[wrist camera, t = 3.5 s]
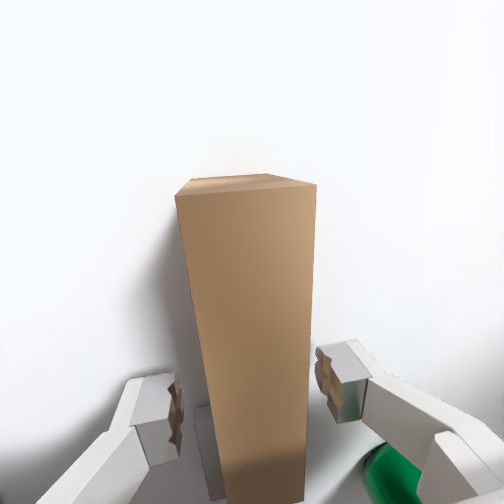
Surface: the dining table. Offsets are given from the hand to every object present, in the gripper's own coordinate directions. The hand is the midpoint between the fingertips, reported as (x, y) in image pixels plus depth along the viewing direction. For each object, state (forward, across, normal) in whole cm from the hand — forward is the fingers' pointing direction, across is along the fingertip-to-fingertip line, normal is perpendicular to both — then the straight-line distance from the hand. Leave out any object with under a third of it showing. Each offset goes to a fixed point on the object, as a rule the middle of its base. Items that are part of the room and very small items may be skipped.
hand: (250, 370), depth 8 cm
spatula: (+2, 0, +2) cm, 2 cm away
